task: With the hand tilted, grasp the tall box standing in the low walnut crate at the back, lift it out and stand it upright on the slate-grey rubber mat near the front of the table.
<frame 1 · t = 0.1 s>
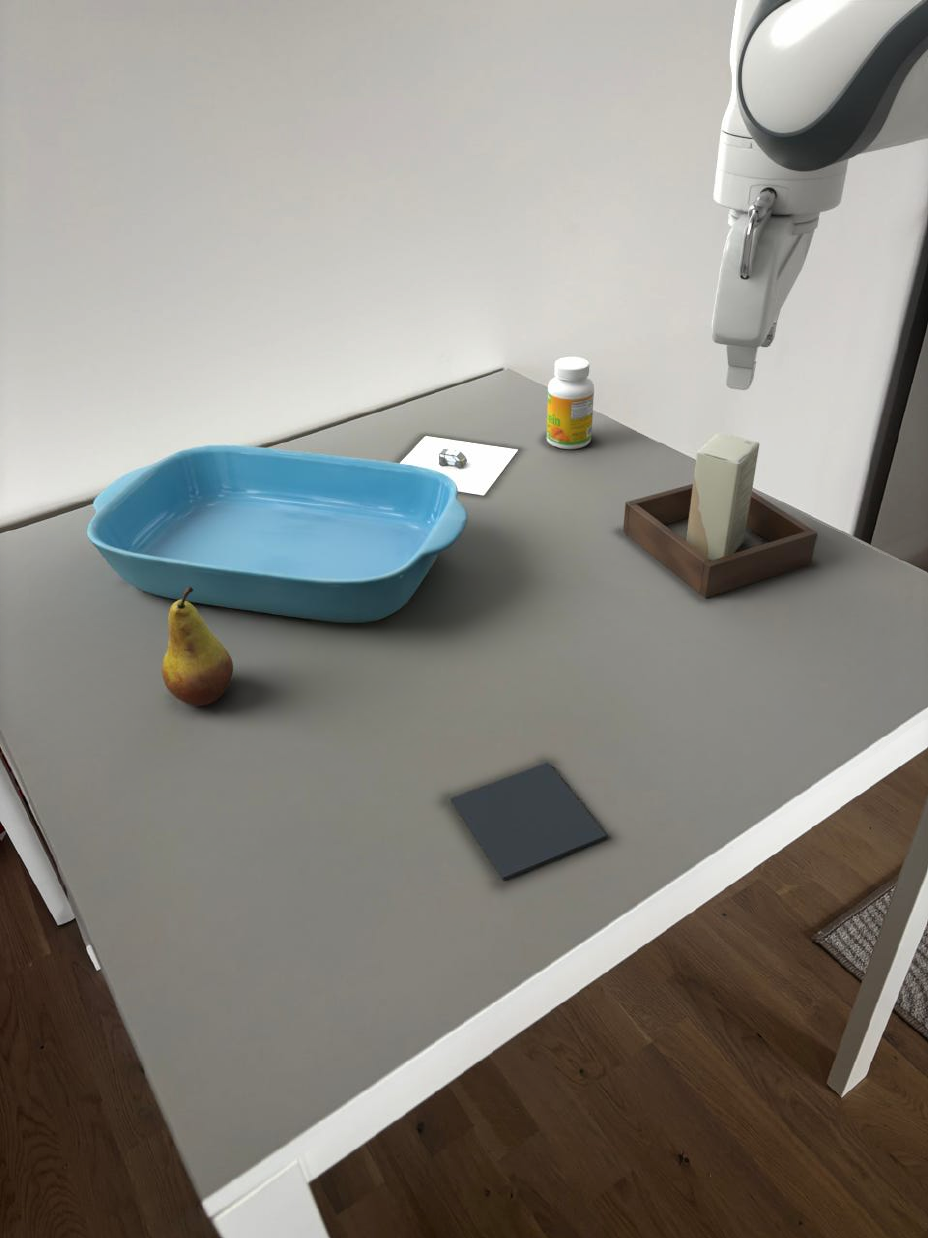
hand: (750, 363, 77), 22 cm above the table, tool pointing down, fingers open, 8 cm apart
casserole dish: (285, 567, 96), on the table
crate: (714, 547, 96), on the table
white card: (453, 465, 113), on the table
supplement bottle: (568, 441, 117), on the table
fruit: (204, 696, 80), on the table
mat: (526, 819, 68), on the table
box: (713, 549, 97), resting in crate
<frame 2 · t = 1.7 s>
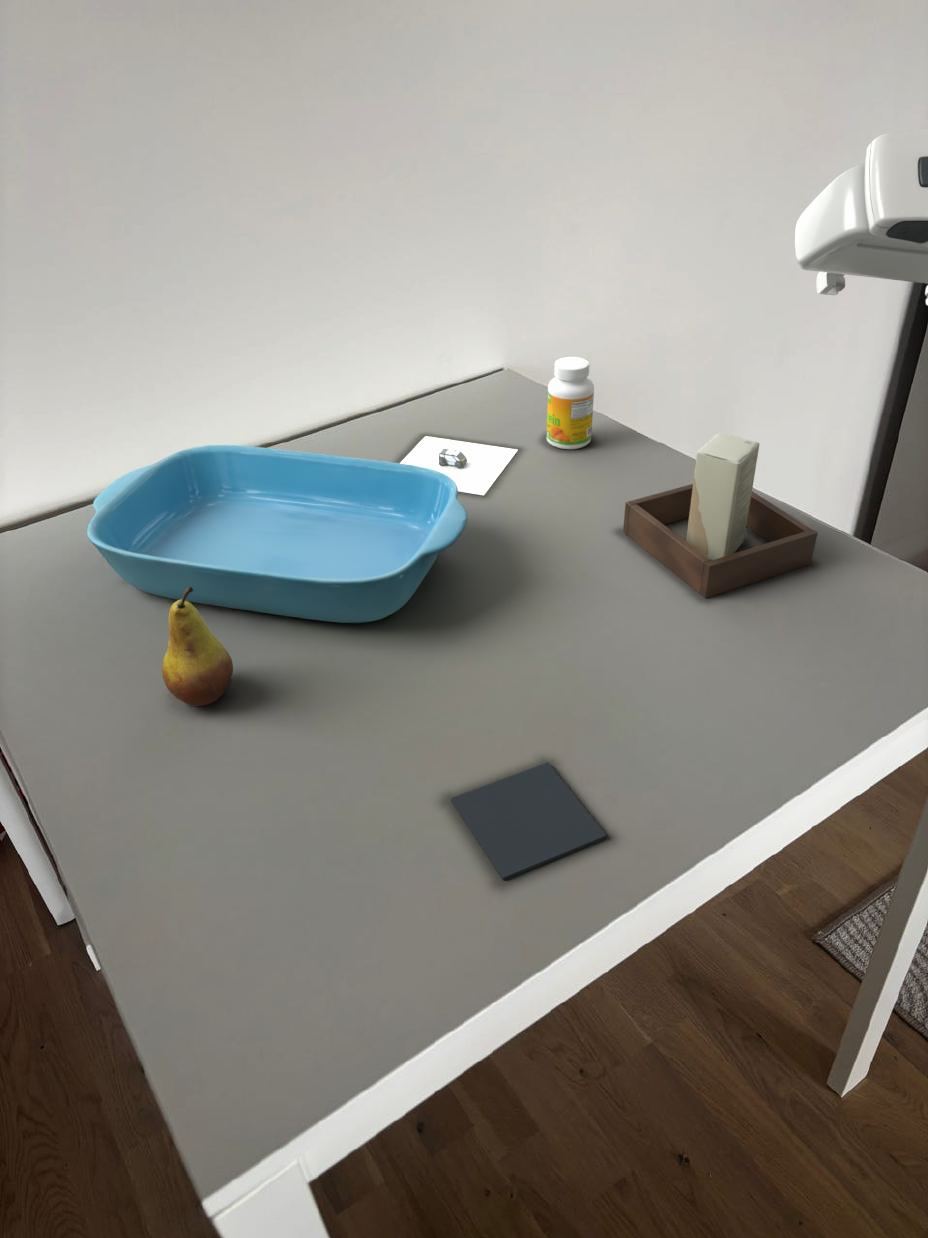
hand: (879, 292, 78), 26 cm above the table, tool tilted 45°, fingers open, 8 cm apart
nothing on the table moved.
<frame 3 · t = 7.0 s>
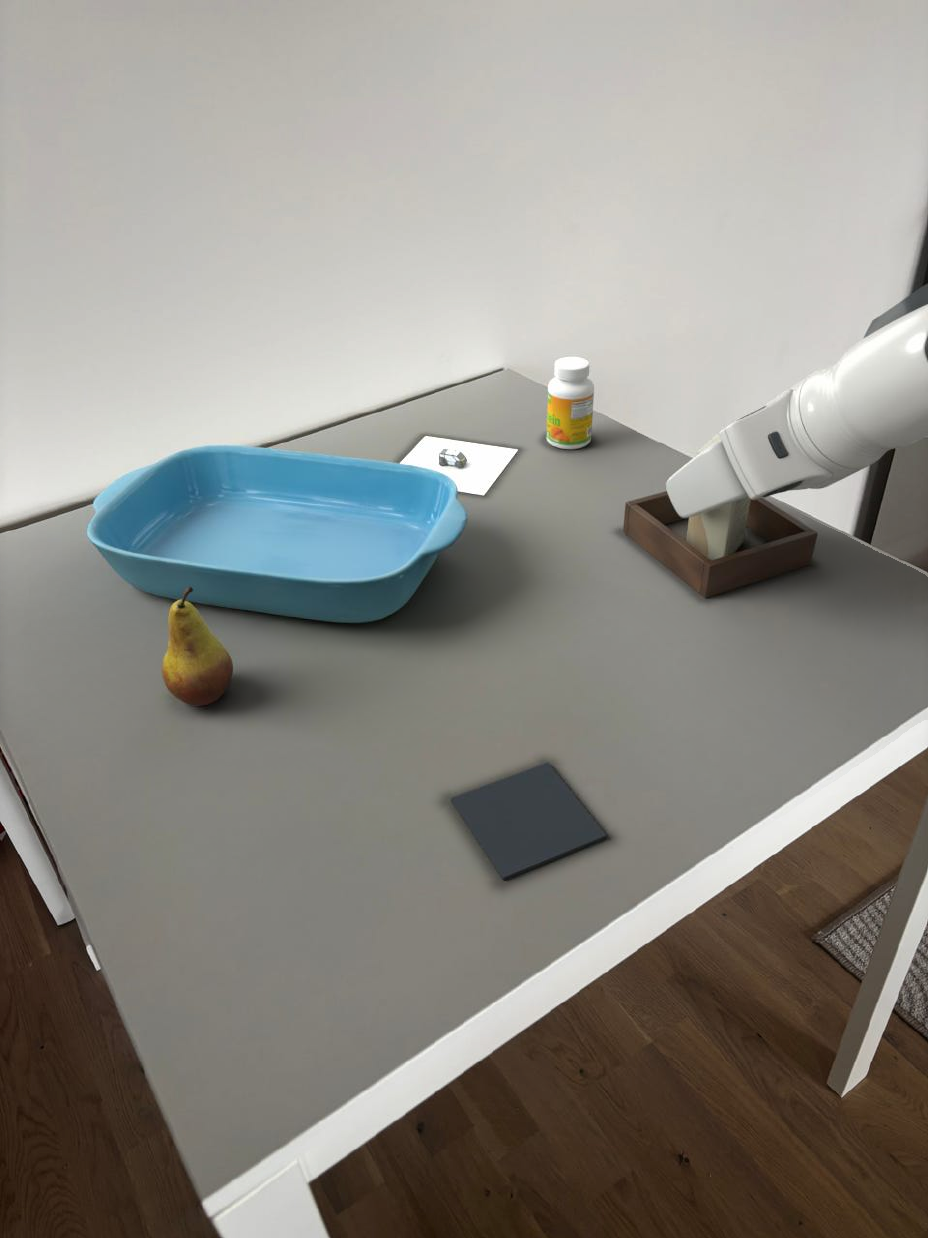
hand: (716, 491, 93), 6 cm above the table, tool tilted 45°, fingers closed on box, 6 cm apart
box: (713, 549, 97), resting in crate, touching gripper
everything else where it was.
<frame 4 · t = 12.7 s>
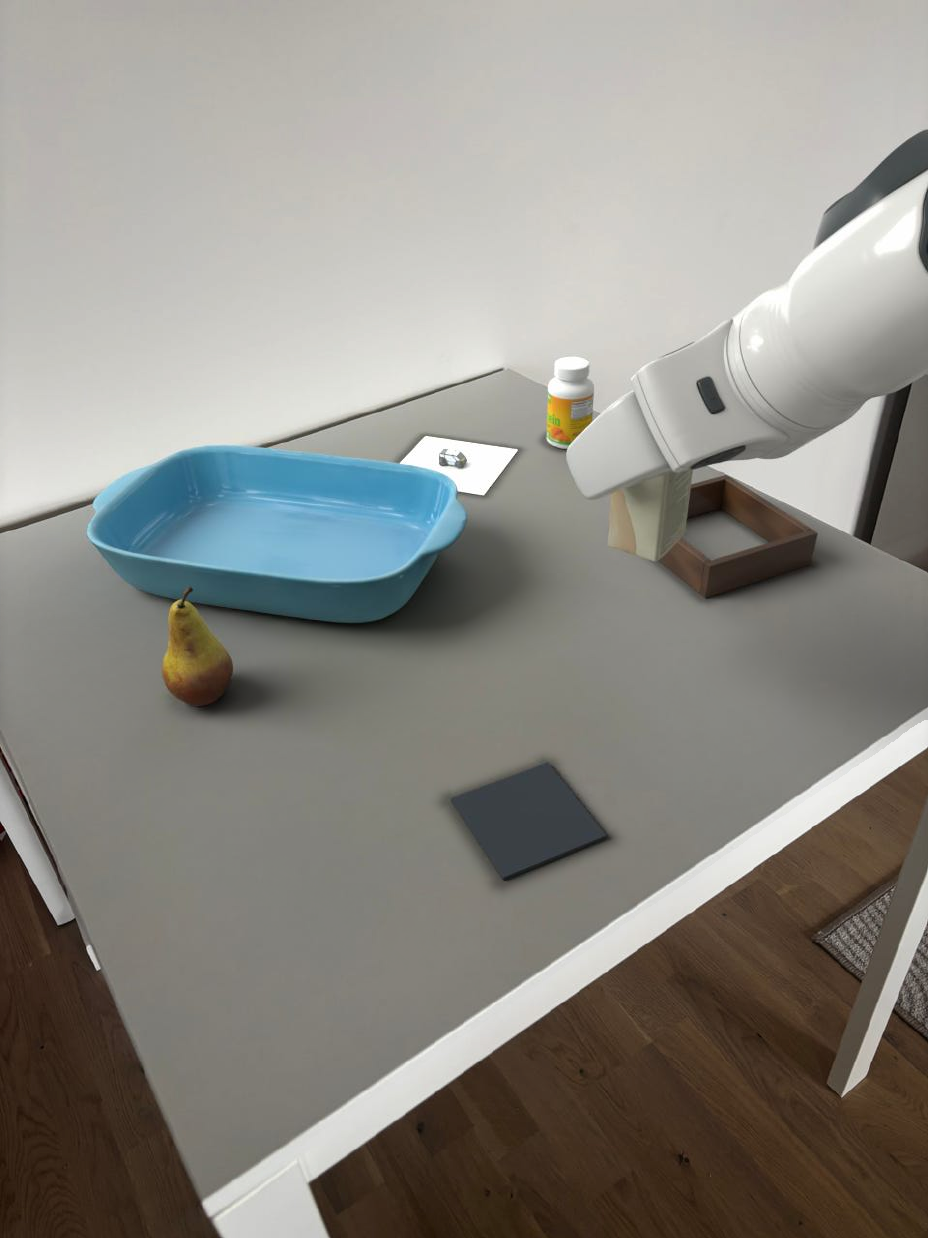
hand: (646, 467, 71), 18 cm above the table, tool tilted 45°, fingers closed on box, 6 cm apart
box: (645, 543, 74), point 12 cm above the table, touching gripper
everything else where it was.
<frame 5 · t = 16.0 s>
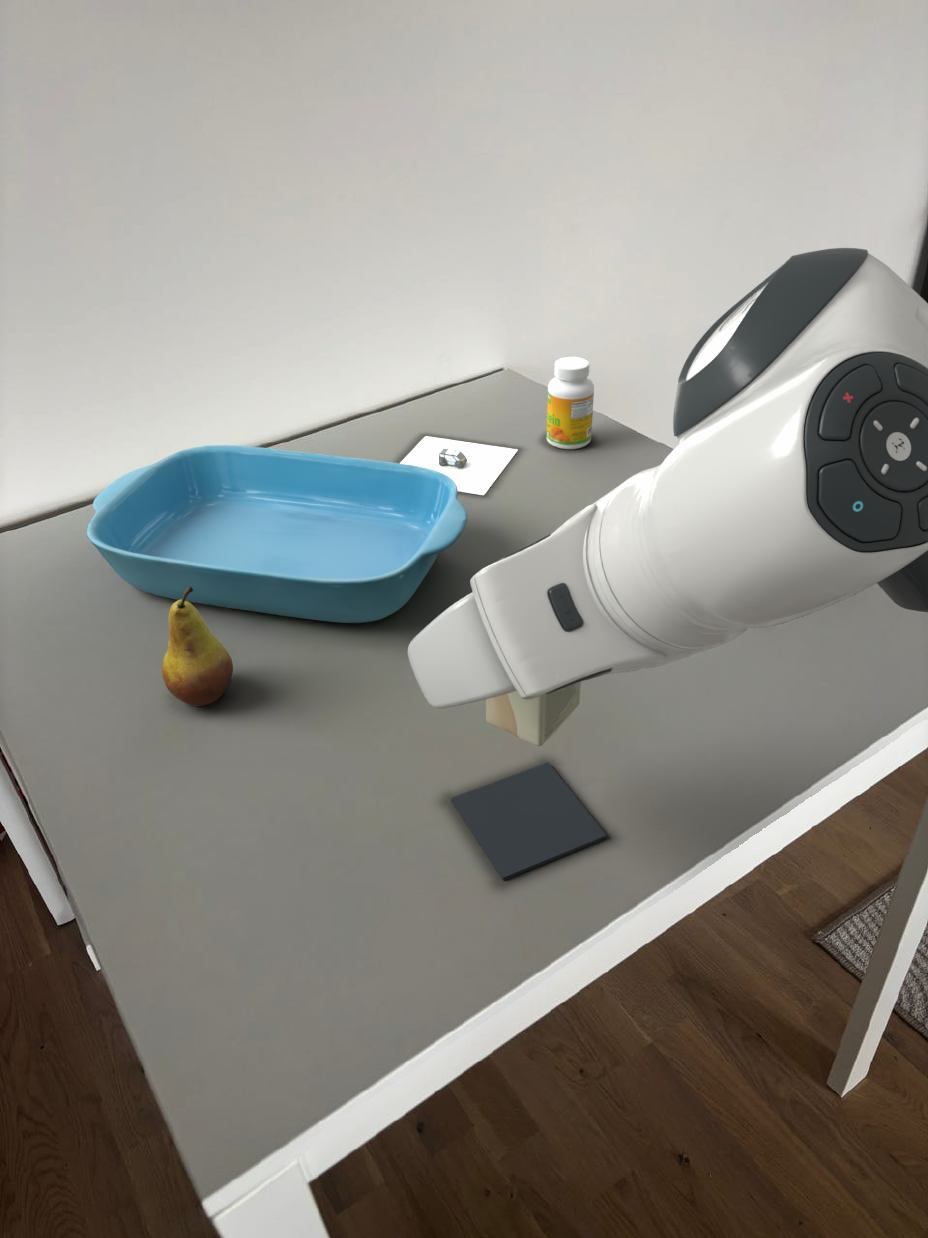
hand: (527, 636, 60), 15 cm above the table, tool tilted 45°, fingers closed on box, 6 cm apart
box: (532, 717, 63), point 9 cm above the table, touching gripper
everything else where it was.
when the fingers open (6 cm above the table, at t = 18.9 s): box stays where it is, resting on mat.
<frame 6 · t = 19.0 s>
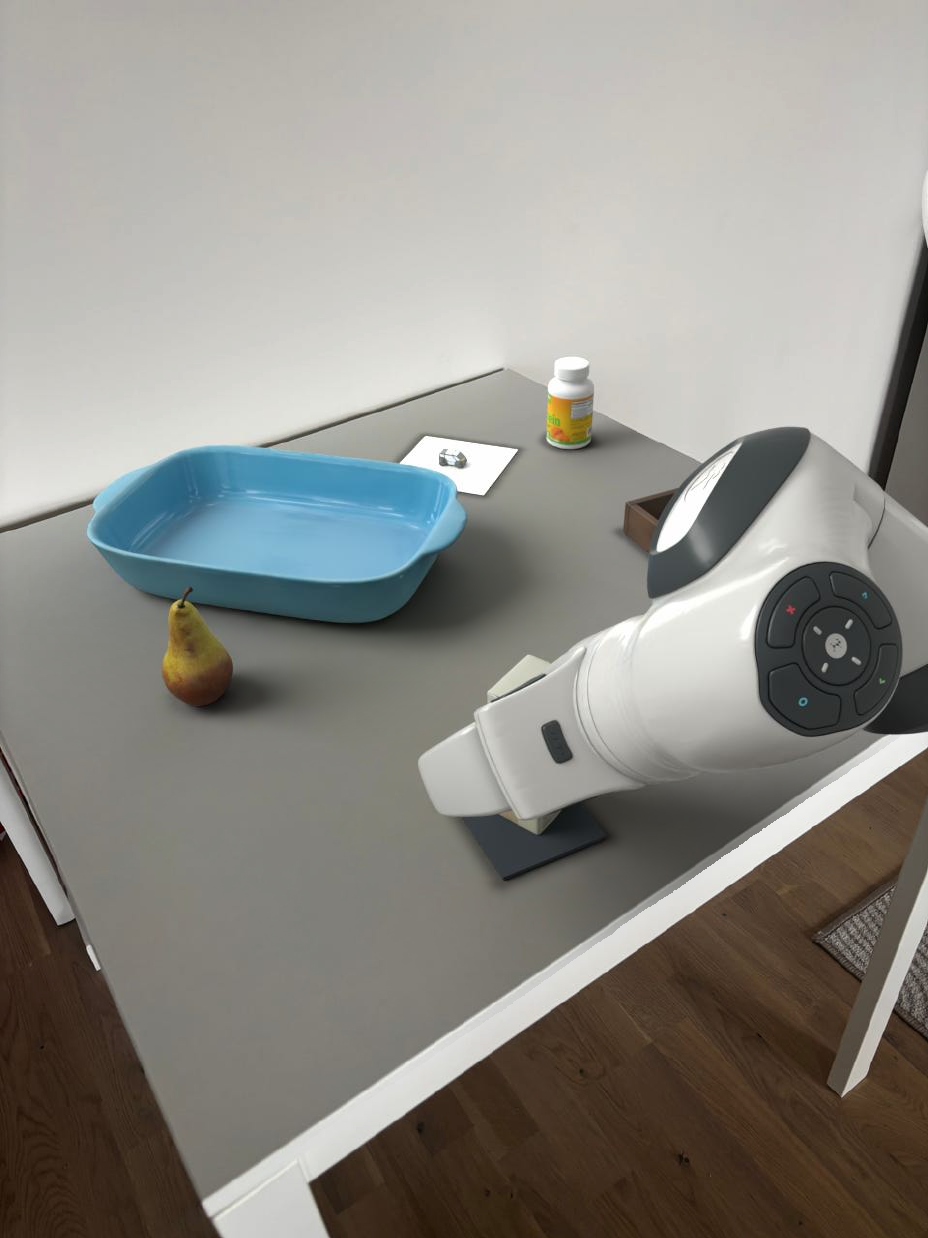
hand: (527, 735, 66), 6 cm above the table, tool tilted 45°, fingers open, 6 cm apart
box: (532, 805, 69), resting on mat
everything else where it was.
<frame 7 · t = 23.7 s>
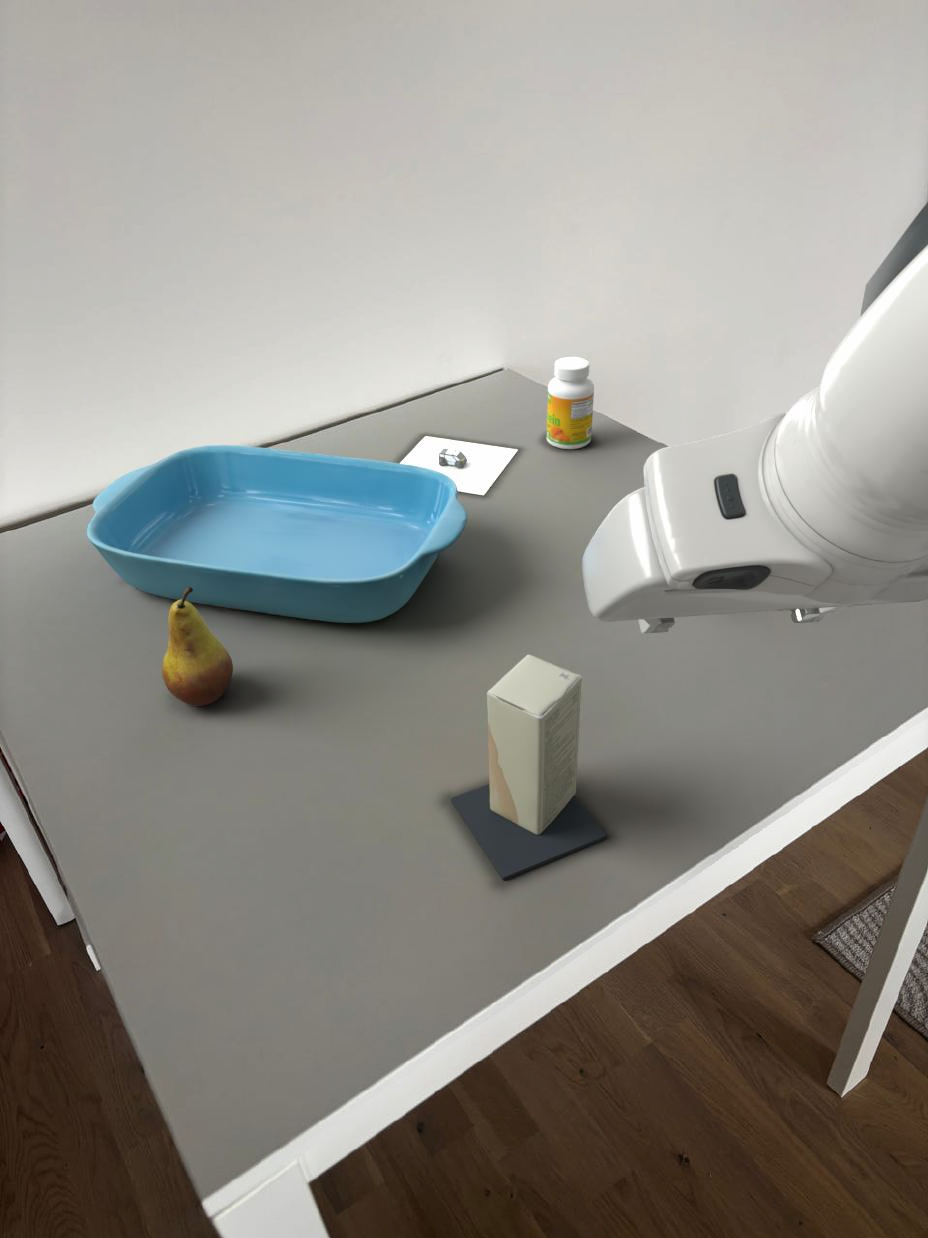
hand: (726, 616, 57), 17 cm above the table, tool tilted 35°, fingers open, 8 cm apart
nothing on the table moved.
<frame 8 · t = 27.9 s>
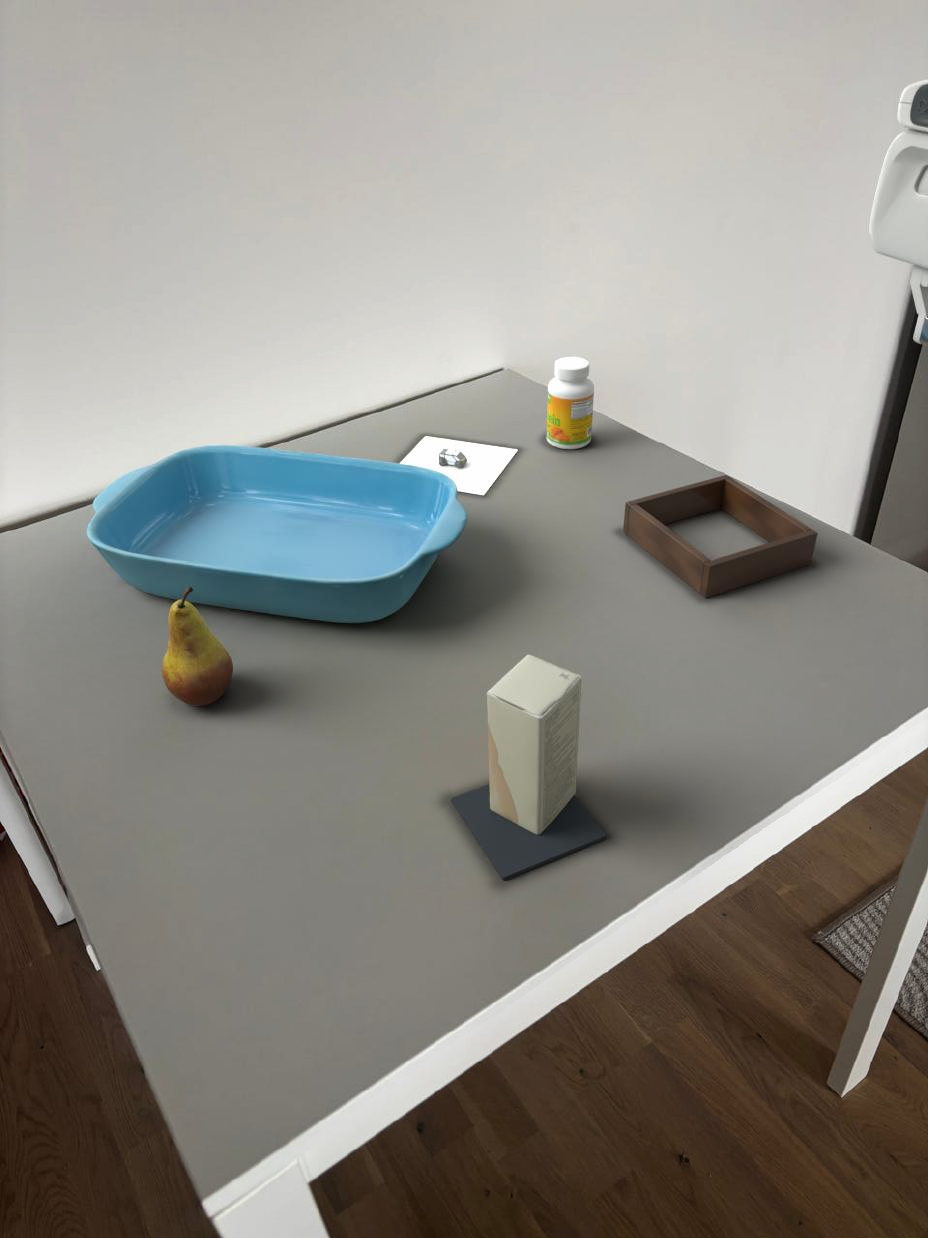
nothing on the table moved.
at the end: box inside the target area on the mat (1.3 cm from its centre), point 0.1 cm above the mat's base; box tilted 0°; the gripper is holding nothing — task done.
